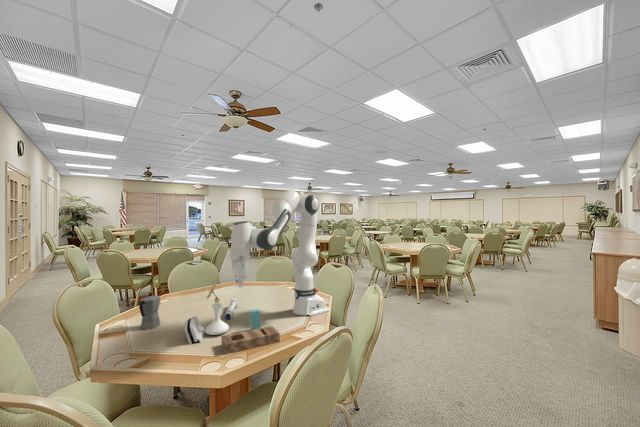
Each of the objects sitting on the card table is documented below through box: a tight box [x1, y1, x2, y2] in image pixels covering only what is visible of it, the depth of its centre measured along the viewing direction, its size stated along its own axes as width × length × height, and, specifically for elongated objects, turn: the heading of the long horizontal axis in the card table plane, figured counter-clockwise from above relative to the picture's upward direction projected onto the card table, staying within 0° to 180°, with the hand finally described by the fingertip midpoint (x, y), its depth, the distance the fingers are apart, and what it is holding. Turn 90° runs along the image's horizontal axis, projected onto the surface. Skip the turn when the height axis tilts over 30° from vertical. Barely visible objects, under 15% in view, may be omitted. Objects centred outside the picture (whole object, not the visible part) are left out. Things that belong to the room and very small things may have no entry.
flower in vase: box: [204, 284, 230, 336], centre depth 139 cm, size 13×11×25 cm
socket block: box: [221, 325, 281, 355], centre depth 127 cm, size 24×10×4 cm, turn 119°
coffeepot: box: [138, 292, 161, 330], centre depth 147 cm, size 15×9×18 cm, turn 179°
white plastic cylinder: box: [223, 297, 239, 321], centre depth 169 cm, size 5×7×25 cm
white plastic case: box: [183, 315, 206, 345], centre depth 135 cm, size 17×5×10 cm, turn 17°
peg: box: [250, 308, 261, 330], centre depth 142 cm, size 4×4×10 cm
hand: (238, 284), depth 131 cm, fingers open, 8 cm apart
